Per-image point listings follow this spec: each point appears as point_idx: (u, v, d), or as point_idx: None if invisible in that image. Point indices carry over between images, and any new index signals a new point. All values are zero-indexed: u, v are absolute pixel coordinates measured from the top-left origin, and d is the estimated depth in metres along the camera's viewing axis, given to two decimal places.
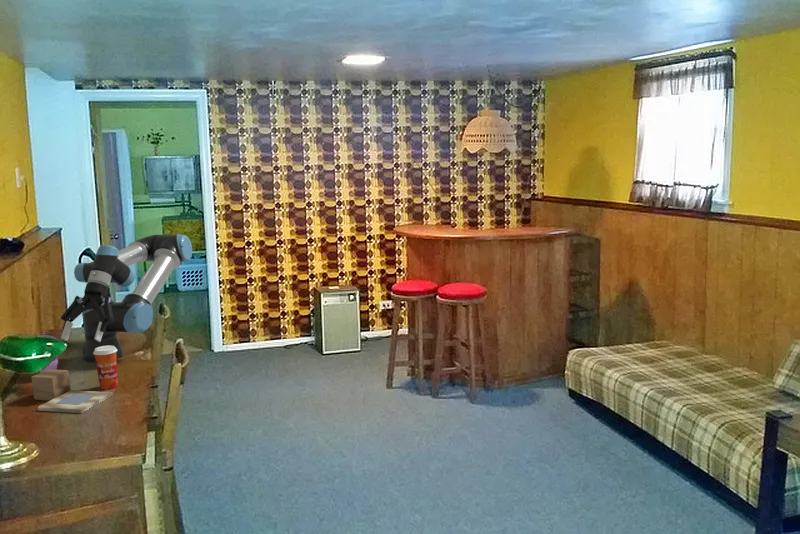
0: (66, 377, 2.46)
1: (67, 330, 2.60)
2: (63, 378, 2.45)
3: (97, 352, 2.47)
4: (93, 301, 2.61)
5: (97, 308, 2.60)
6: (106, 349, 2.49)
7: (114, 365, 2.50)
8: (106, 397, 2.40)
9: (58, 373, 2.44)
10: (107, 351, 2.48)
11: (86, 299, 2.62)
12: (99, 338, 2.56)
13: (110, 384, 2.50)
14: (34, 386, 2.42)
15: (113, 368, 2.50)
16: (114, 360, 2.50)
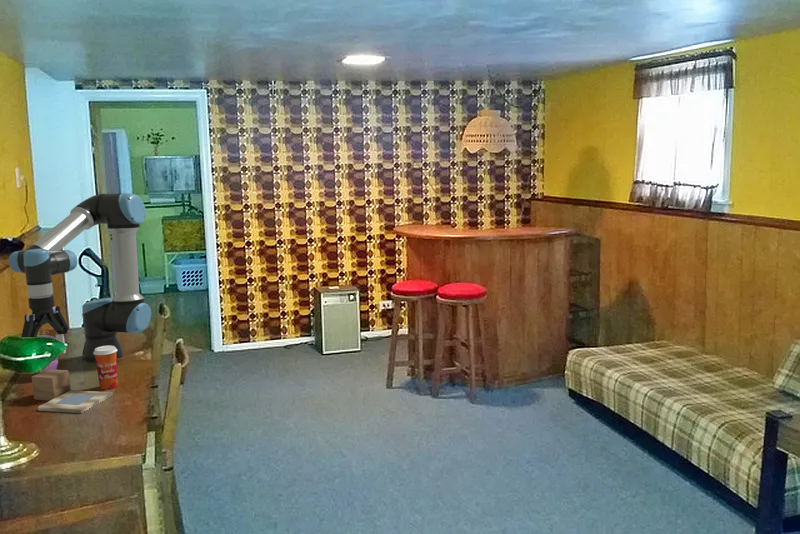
0: (66, 377, 2.46)
1: None
2: (63, 378, 2.45)
3: (97, 352, 2.47)
4: None
5: None
6: (106, 349, 2.49)
7: (114, 365, 2.50)
8: (106, 397, 2.40)
9: (58, 373, 2.44)
10: (107, 351, 2.48)
11: None
12: None
13: (110, 384, 2.50)
14: (34, 386, 2.42)
15: (113, 368, 2.50)
16: (114, 360, 2.50)
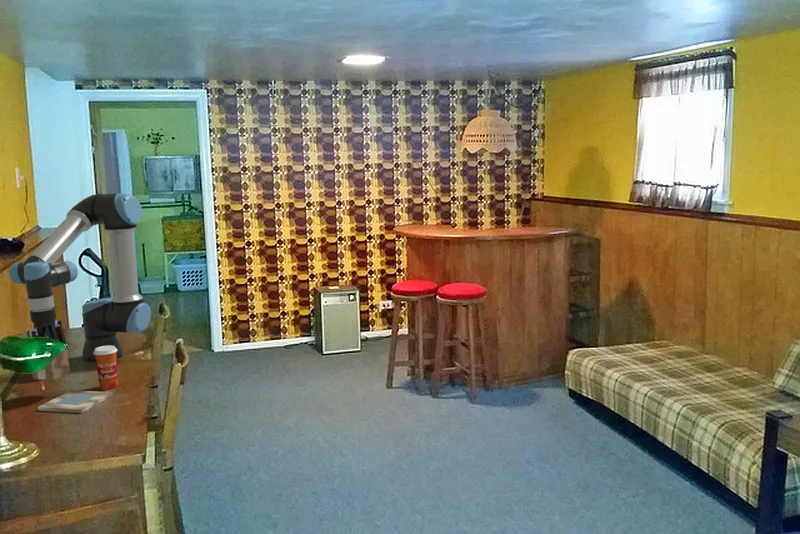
0: (65, 356, 2.45)
1: None
2: (62, 357, 2.44)
3: (97, 352, 2.47)
4: None
5: None
6: (106, 349, 2.49)
7: (114, 365, 2.50)
8: (106, 397, 2.40)
9: None
10: (107, 351, 2.48)
11: None
12: (42, 376, 2.40)
13: (110, 384, 2.50)
14: None
15: (113, 368, 2.50)
16: (114, 360, 2.50)
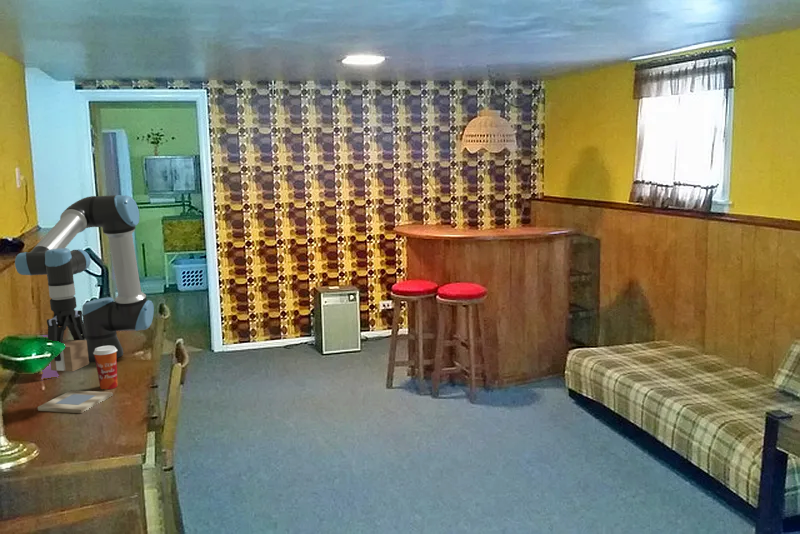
0: (84, 347, 2.36)
1: None
2: (81, 348, 2.35)
3: (97, 352, 2.47)
4: None
5: None
6: (106, 349, 2.49)
7: (114, 365, 2.50)
8: (106, 397, 2.40)
9: (76, 343, 2.34)
10: (107, 351, 2.48)
11: None
12: (60, 368, 2.31)
13: (110, 384, 2.50)
14: None
15: (113, 368, 2.50)
16: (114, 360, 2.50)
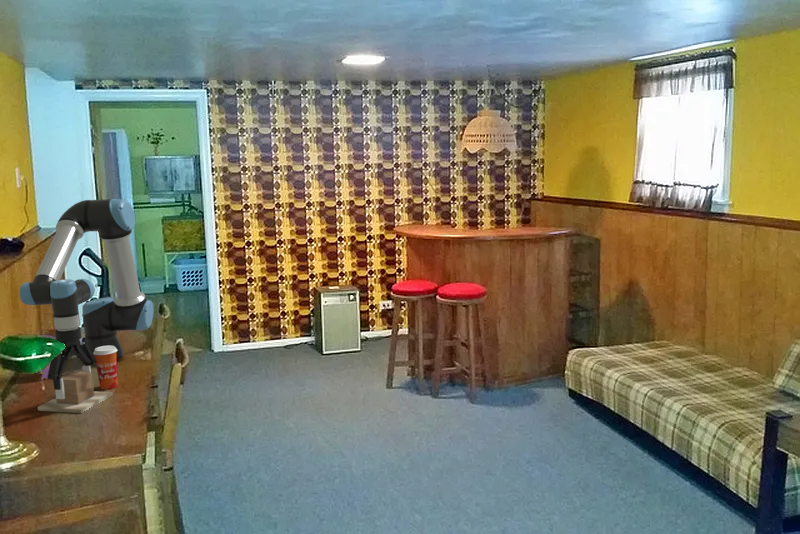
0: (89, 379, 2.38)
1: None
2: (87, 380, 2.37)
3: (97, 352, 2.47)
4: None
5: None
6: (106, 349, 2.49)
7: (114, 365, 2.50)
8: (106, 397, 2.40)
9: (81, 375, 2.36)
10: (107, 351, 2.48)
11: None
12: (60, 396, 2.30)
13: (110, 384, 2.50)
14: None
15: (113, 368, 2.50)
16: (114, 360, 2.50)
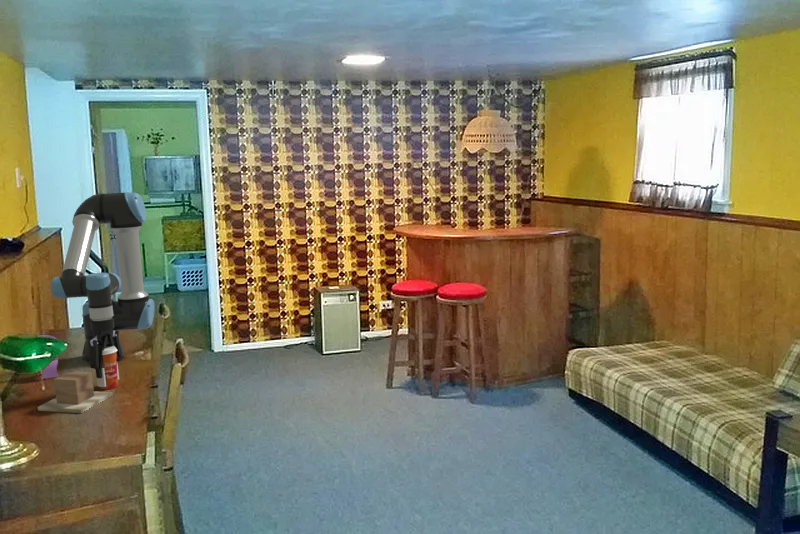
0: (89, 379, 2.38)
1: None
2: (87, 380, 2.37)
3: None
4: None
5: None
6: (106, 349, 2.49)
7: (114, 365, 2.50)
8: (106, 397, 2.40)
9: (81, 375, 2.36)
10: (107, 351, 2.48)
11: None
12: (101, 384, 2.48)
13: (110, 384, 2.50)
14: (57, 389, 2.33)
15: (113, 368, 2.50)
16: (114, 360, 2.50)
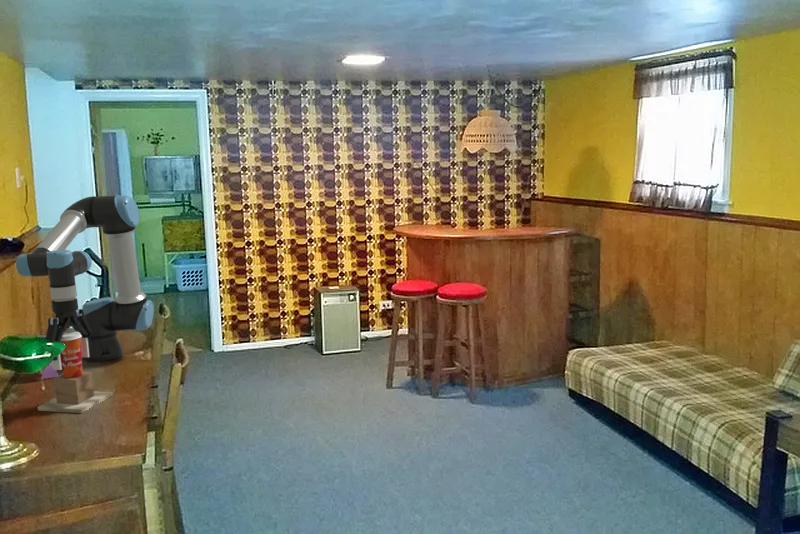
0: (89, 379, 2.38)
1: (82, 347, 2.41)
2: (87, 380, 2.37)
3: None
4: None
5: None
6: (69, 335, 2.32)
7: (78, 352, 2.34)
8: (106, 397, 2.40)
9: (81, 375, 2.36)
10: (70, 337, 2.31)
11: None
12: (57, 367, 2.28)
13: (74, 372, 2.33)
14: (57, 389, 2.33)
15: (77, 355, 2.33)
16: (78, 347, 2.33)
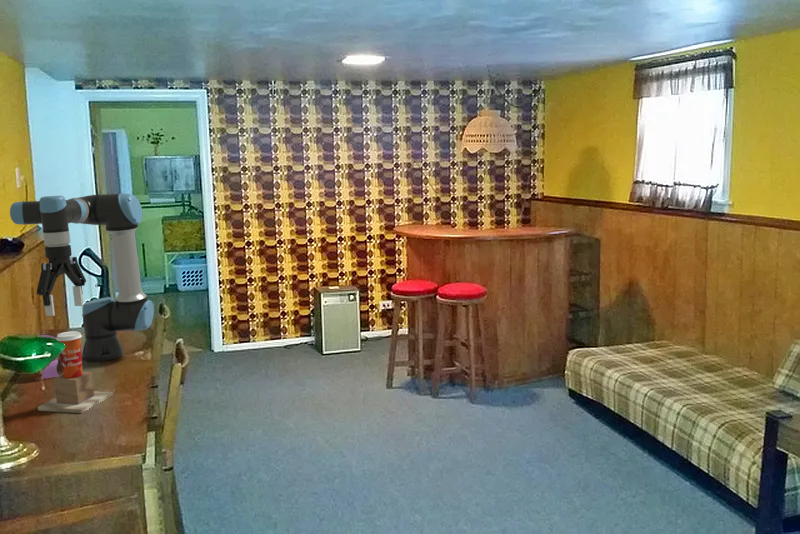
0: (89, 379, 2.38)
1: (76, 296, 2.39)
2: (87, 380, 2.37)
3: (59, 338, 2.31)
4: None
5: None
6: (69, 335, 2.32)
7: (78, 352, 2.34)
8: (106, 397, 2.40)
9: (81, 375, 2.36)
10: (70, 337, 2.31)
11: None
12: (50, 313, 2.26)
13: (74, 372, 2.33)
14: (57, 389, 2.33)
15: (77, 355, 2.33)
16: (78, 347, 2.33)
